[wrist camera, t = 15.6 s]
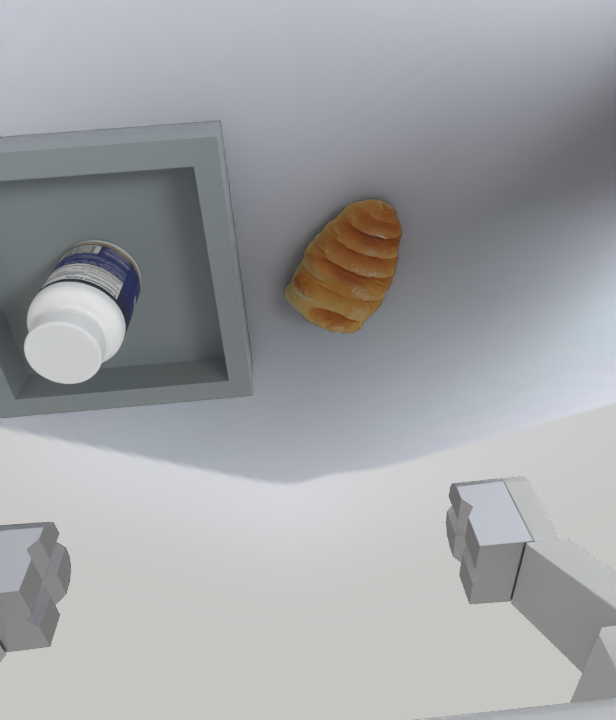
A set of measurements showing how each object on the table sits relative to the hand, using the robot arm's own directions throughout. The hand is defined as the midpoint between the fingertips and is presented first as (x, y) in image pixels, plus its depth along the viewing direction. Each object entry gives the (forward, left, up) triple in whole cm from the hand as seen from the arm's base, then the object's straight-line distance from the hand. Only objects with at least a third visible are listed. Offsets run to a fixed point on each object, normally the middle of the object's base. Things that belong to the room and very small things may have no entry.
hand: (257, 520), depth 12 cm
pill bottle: (+11, +7, -28) cm, 31 cm away
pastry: (-5, +8, -30) cm, 31 cm away
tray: (+11, +7, -29) cm, 32 cm away
